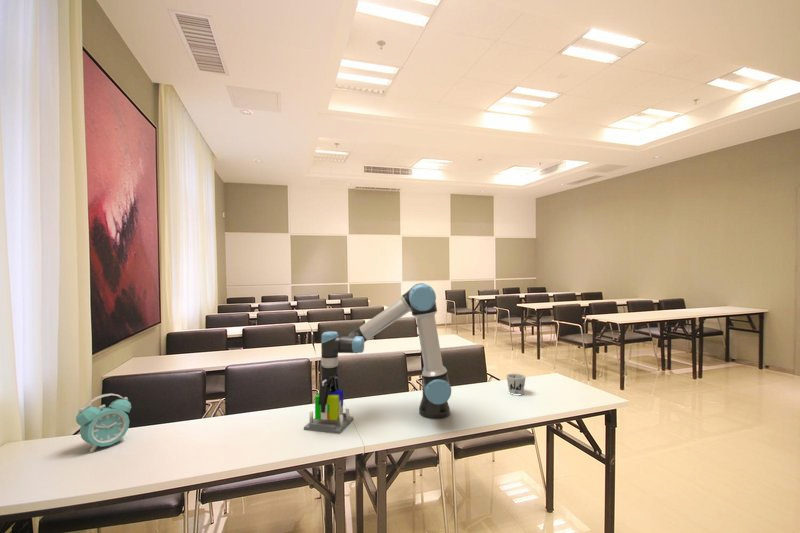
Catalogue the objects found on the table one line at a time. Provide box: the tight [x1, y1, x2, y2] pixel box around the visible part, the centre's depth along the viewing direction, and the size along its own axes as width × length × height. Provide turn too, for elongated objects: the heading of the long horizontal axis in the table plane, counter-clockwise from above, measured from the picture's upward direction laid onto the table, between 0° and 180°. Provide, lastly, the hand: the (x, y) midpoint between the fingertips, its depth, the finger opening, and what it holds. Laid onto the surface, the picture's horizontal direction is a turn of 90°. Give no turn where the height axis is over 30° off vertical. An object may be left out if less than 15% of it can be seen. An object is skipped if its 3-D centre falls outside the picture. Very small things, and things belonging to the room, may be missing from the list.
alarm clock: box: [75, 393, 132, 453], centre depth 145 cm, size 17×10×20 cm, turn 148°
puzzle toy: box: [314, 389, 344, 420], centre depth 165 cm, size 10×10×10 cm
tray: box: [303, 408, 354, 435], centre depth 165 cm, size 17×16×6 cm
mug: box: [506, 373, 527, 395], centre depth 209 cm, size 10×15×10 cm
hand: (329, 414), depth 165 cm, fingers closed on puzzle toy, 10 cm apart
